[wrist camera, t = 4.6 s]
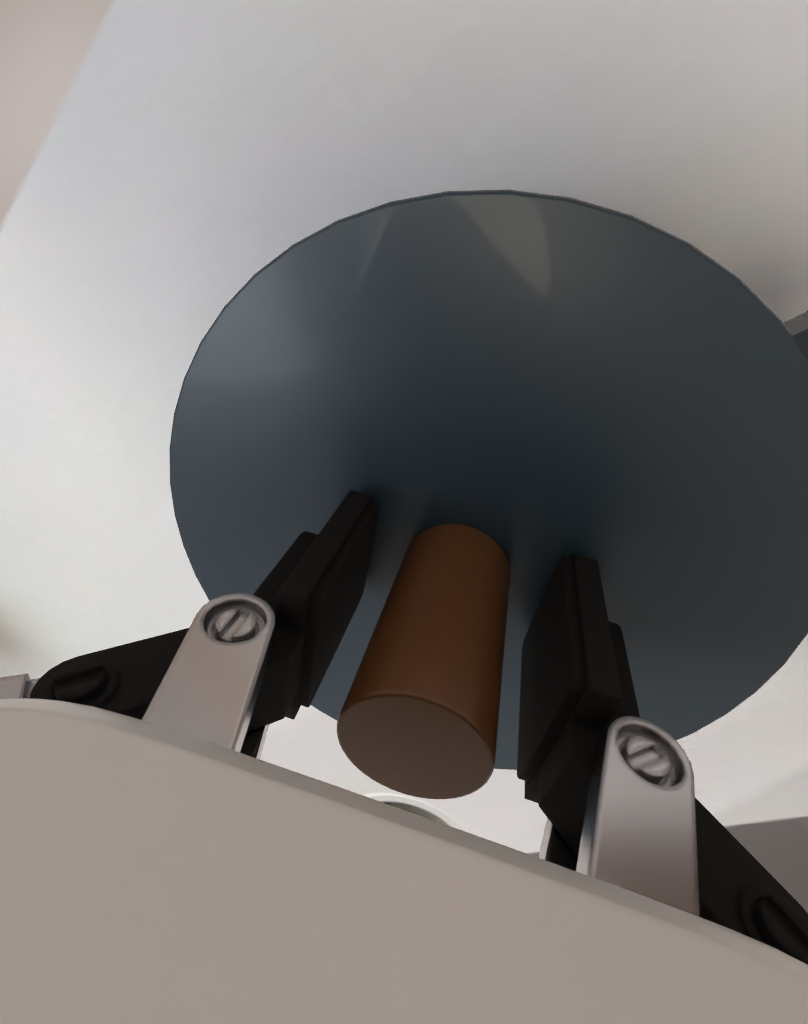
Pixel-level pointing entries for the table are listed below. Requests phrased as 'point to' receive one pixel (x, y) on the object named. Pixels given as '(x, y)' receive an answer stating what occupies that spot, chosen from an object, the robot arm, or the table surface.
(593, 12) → the table surface
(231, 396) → the pot lid
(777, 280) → the table surface
